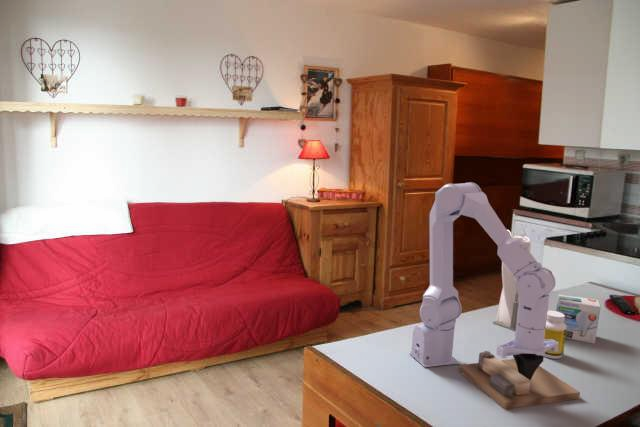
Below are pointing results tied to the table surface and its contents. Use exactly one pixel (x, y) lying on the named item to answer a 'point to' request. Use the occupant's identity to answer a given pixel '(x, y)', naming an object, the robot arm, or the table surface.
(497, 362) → the folding leg
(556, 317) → the pill bottle
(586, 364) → the table surface
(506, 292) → the skyscraper
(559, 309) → the light bulb box
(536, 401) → the stool seat
